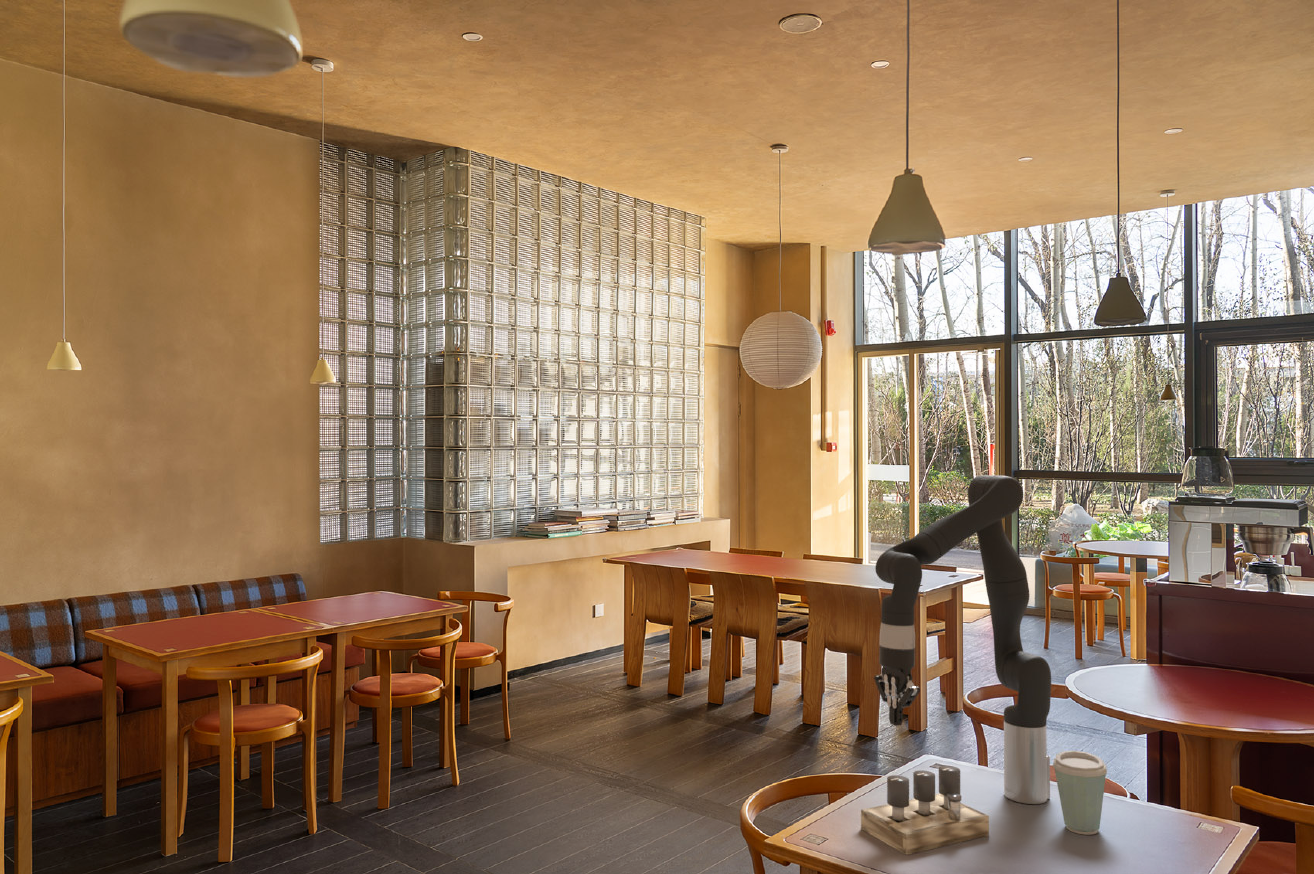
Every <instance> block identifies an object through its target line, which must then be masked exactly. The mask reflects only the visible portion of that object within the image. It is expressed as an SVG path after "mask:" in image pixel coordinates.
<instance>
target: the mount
mask: <svg viewBox="0 0 1314 874" xmlns="http://www.w3.org/2000/svg"><path fill="white" fill-rule="evenodd" d="M960 807H961V820H959V821H953V820H950V819H949V818H948V809H947V808H945V807H944V795H942V794H940V793H935V801H932V802H930V814H929V815H923V814H920V813H919V812H918V800H916V799H914V798H912V799H909V806H908V807H904V820H900V821H899V820H894V819H893V818H892V806H890V805H889V804H888V803H887V804H882V805H878V806H874V807H868V808H864V809H861V810H860V829H861V830H862V831H864V832H866V833H867V834H869V835H871V836H872V837H875V838H876V839H878V840H879V841H881V842H883V843H885V844H887V845H888V846H890V847H891V848H894V849H895V850H897V851H899V852H901V853H902V854H904V855H906V856H908V855H913V854H917V853H921V852H926V851H929V850H933V849H938V848H942V847H945V846H949V845H955V844H958V843H963V842H966V841H967V842H968V841H971V840H974V839H980V838H984V837H987V836H990V828H989V825H990V822H989V821H990V820H989V817H990V816H989V815H988V814H986V813H985V812H984V813H983V812H982V811H979V810H978V809H975V808H973V807H971V806H968V805H967V804H965V803H962V802H960ZM916 852H917V853H916Z"/></svg>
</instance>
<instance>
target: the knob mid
mask: <svg viewBox="0 0 1314 874" xmlns="http://www.w3.org/2000/svg"><path fill="white" fill-rule="evenodd" d="M912 773H913V776H912V778H913V779H912V780H913V781H912V785H913V786H912V788H913V789H912V790H913V792H912V793H913V797H912V798H913V799H916V800H918V812H919V813H920V814H923V815H929V814H930V802H932V801H935V794H936V774H935V773H934V772H932V771H928V770H915V771H914V772H912Z"/></svg>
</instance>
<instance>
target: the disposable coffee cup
mask: <svg viewBox="0 0 1314 874" xmlns="http://www.w3.org/2000/svg"><path fill="white" fill-rule="evenodd" d="M1052 762H1053V763H1052V768H1053V769H1054V774H1055V778H1056V779H1055V780H1056V783H1057V790H1058V795H1059V801H1060V807H1061V813H1062V818H1063V822H1064V825H1065V827H1066V829H1067V830H1069V831H1070V832H1073V833H1075V834H1077V835H1084V836H1085V835H1086V836H1088V835H1090V836H1091V835H1095V834H1098V833H1099V830H1100V828H1101V827H1100V826H1101V819H1102V809H1103V803H1104V793H1105V785H1106V784H1105V783H1106V775H1107V774H1108V769H1107V764H1106V763H1104V760H1103V759H1102V758H1100V757H1099V756H1097V755H1095V754H1093V753H1089V752H1086V751H1077V750H1065V751H1064V750H1063V751H1060V752H1059V753H1057V754H1056V755H1055V758H1053V761H1052Z"/></svg>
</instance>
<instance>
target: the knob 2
mask: <svg viewBox="0 0 1314 874" xmlns="http://www.w3.org/2000/svg"><path fill="white" fill-rule="evenodd" d="M948 793H957V794H960V795H961V769H960V768H958V767H957V766H953V765H941V766H938V794H942V795H944V807H945V808H947V809H948V799H947V794H948Z"/></svg>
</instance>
